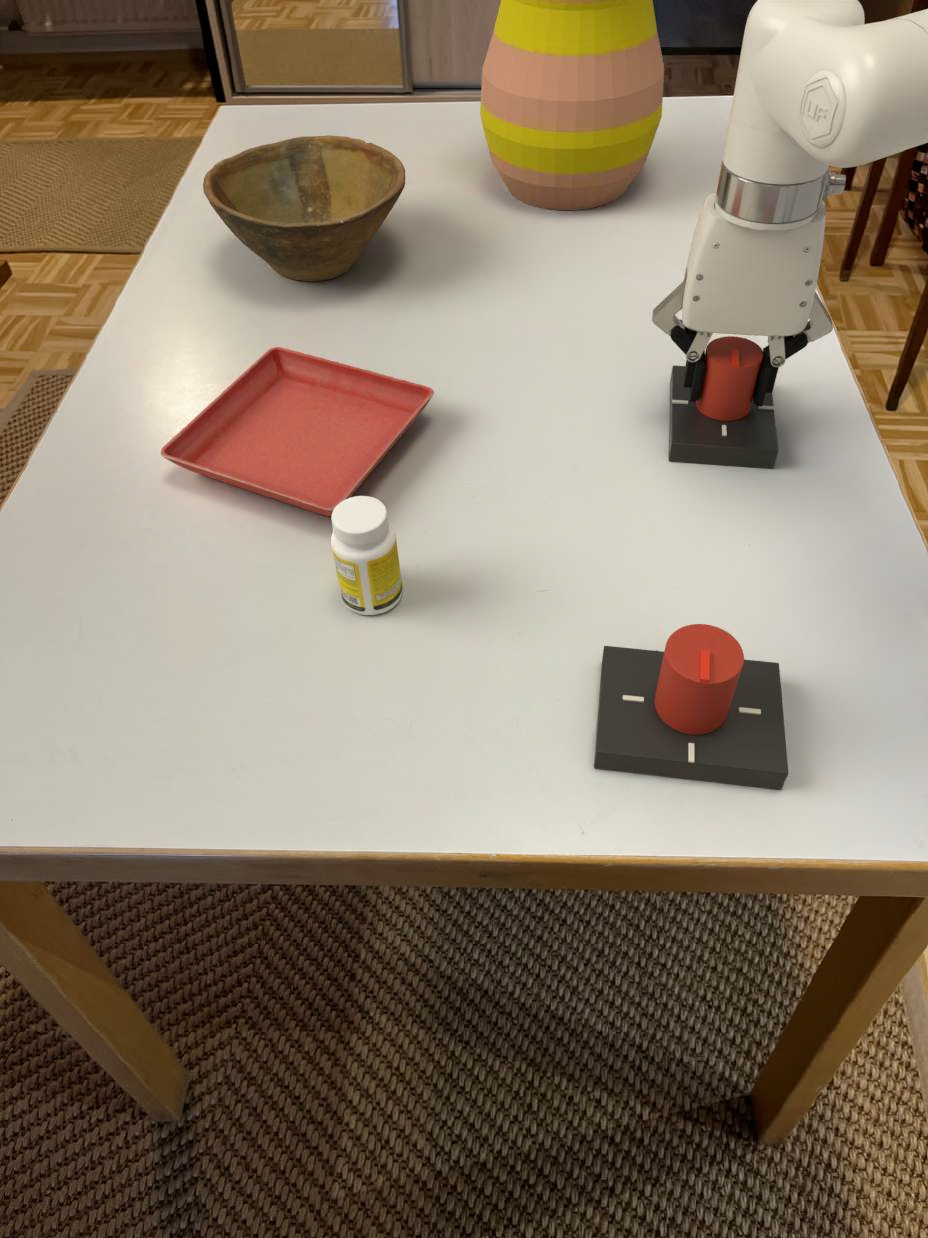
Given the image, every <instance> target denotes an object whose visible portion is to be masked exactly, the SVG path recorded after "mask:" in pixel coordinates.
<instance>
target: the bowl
mask: <svg viewBox="0 0 928 1238" xmlns="http://www.w3.org/2000/svg"><path fill="white" fill-rule="evenodd" d="M405 186H406V168H405V165H404V164H403V162H402V161H401V159H399V158H398V157H397V155H395V154H394V153H392V152H391V151H389V150H387V149H385V148H384V147H382V146H380V145H377V144H375V143H373V142H366V141H365V140H363V139H360V138H354V137H349V136H339V135H330V134H329V135H315V136H311V135H310V136H298V137H292V138H288V139H284V140H280V141H276V142H272V143H266V144H262V145H261V144H260V145H258V146H255V147H251V148H248V149H245V150H242V151H241V152H238V153H237V154H235V155H232V156H231V157H227V158H224V159H222V160H220V161H218V162H217V163H215V164H214V165H213V167H212V168H211V169H209V170H208V171H207V172H206V174H205V176H204V178H203V183H202V189H203V194H204V196H205V198H206V199H207V200H208V202H209V204H210V206H211V207H212V209H213V210H214V212H215V213H216V214H217V215H218V217H219V218H220V219H221V221H222V222H223V223H224V225H225V226H226V227H227V228H228V229H229V230H230V232H231V233H232V234H233V235H234V236H235V237H236V238H237V239H238V240H239V241H240V242H241V243H242V244H243V245H244V246H246V247H247V248H248V249H249V250H250V251H251V252H253V254H255V255H257V256H258V257H259V258H261V259H262V260H263V262H265V263H266V264H267V265H269V266H270V267H271V269H273V270H274V271H275V272H276V273H277V274H278V275H280V276H282V277H284V278H287V279H290V280H295V281H303V282H319V281H326V280H327V281H328V280H332V279H335V278H337V277H339V276H341V275H343V274H345V273H347V271H349V270H350V269H351V268H352V266H353V265H354V264H355V262H356V261H357V260H358V258H359V256H360V255H361V254H362V253H363V251H364V250H365V249H366V247H367V246H368V245H369V244H370V242H371V241H372V239H373V238H374V236H375V235H376V233H378V231H379V230H380V228H381V226H382V224H383V223H384V222H385V220H386V219H387V217H388V216H389V214H390V212H391V211H392V209H393V208H394V206H395V204H396V203H397V202H398V200H399V198H400V196H401V194H402V193H403V190H404V189H405Z"/></svg>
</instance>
